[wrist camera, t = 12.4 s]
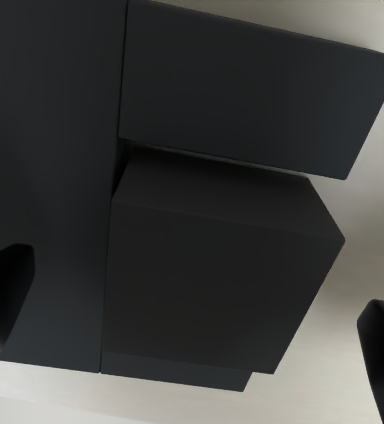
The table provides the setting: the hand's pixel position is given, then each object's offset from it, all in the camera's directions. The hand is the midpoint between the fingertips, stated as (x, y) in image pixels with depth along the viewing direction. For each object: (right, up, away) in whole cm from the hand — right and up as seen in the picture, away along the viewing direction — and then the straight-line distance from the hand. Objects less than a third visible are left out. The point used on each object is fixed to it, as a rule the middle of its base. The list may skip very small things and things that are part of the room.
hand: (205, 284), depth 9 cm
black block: (0, +1, +2) cm, 2 cm away
